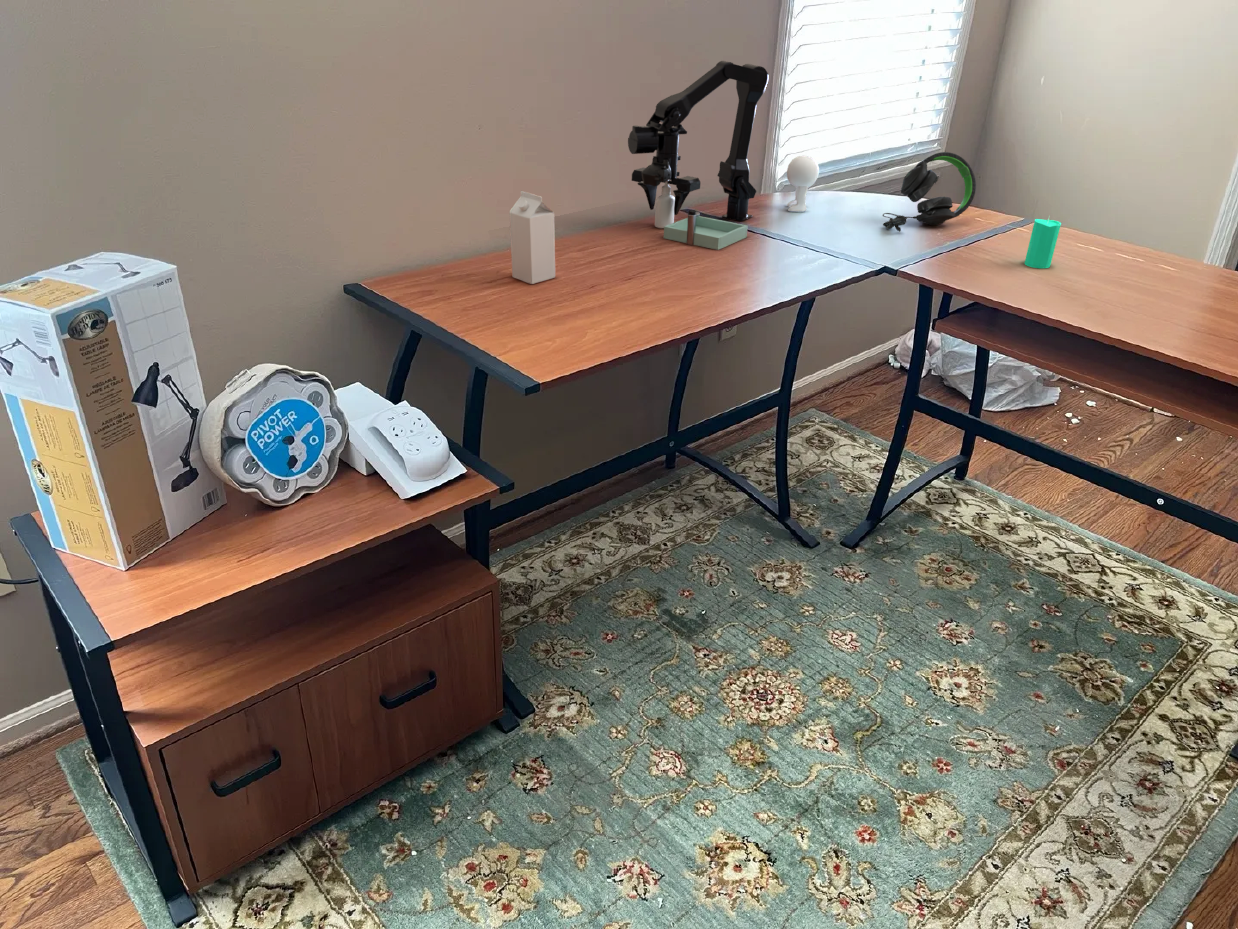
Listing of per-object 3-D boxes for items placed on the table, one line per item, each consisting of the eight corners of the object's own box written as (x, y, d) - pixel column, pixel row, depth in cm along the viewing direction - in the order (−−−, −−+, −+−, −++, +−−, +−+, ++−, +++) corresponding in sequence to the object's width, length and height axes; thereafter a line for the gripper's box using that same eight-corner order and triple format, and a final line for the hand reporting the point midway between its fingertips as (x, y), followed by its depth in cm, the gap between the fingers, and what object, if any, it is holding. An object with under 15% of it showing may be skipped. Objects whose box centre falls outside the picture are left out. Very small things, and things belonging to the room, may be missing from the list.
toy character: (782, 204, 270) (787, 151, 262) (813, 205, 269) (819, 152, 261) (783, 212, 262) (789, 158, 254) (815, 213, 261) (822, 159, 253)
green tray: (693, 226, 248) (694, 214, 246) (746, 237, 239) (747, 225, 238) (663, 238, 238) (663, 226, 236) (718, 250, 229) (718, 237, 228)
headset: (893, 257, 254) (975, 200, 256) (915, 249, 241) (1002, 189, 243) (859, 202, 252) (943, 144, 253) (880, 191, 238) (968, 131, 240)
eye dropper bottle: (652, 223, 249) (654, 179, 242) (671, 223, 250) (674, 178, 243) (656, 228, 245) (658, 184, 239) (676, 228, 246) (679, 183, 240)
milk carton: (535, 270, 213) (533, 188, 203) (555, 278, 209) (554, 194, 199) (512, 277, 209) (508, 193, 199) (531, 285, 204) (528, 199, 195)
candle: (1020, 264, 222) (1032, 215, 216) (1029, 259, 225) (1041, 210, 219) (1044, 270, 218) (1057, 220, 212) (1054, 264, 222) (1067, 215, 216)
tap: (692, 240, 236) (694, 207, 232) (700, 242, 235) (702, 209, 231) (684, 243, 233) (686, 211, 229) (691, 245, 232) (693, 212, 228)
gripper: (620, 150, 237) (618, 211, 245) (680, 161, 227) (675, 224, 235) (644, 145, 245) (642, 203, 252) (703, 155, 235) (699, 216, 243)
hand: (663, 212), depth 246 cm, fingers closed on eye dropper bottle, 7 cm apart
